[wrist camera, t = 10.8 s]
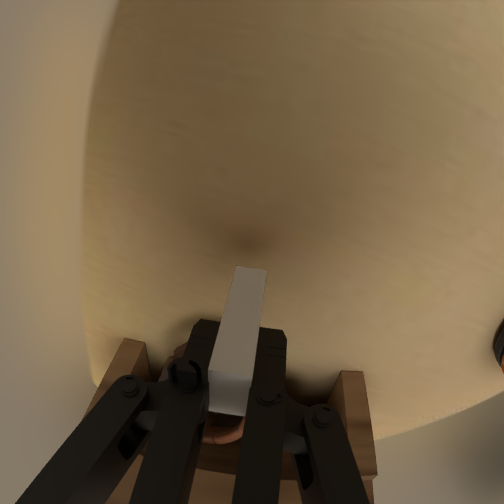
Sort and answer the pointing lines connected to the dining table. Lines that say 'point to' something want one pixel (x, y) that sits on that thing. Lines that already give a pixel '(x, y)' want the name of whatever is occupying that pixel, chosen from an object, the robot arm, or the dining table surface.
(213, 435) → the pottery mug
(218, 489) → the hutch
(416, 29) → the dining table surface
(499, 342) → the canister
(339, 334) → the dining table surface
